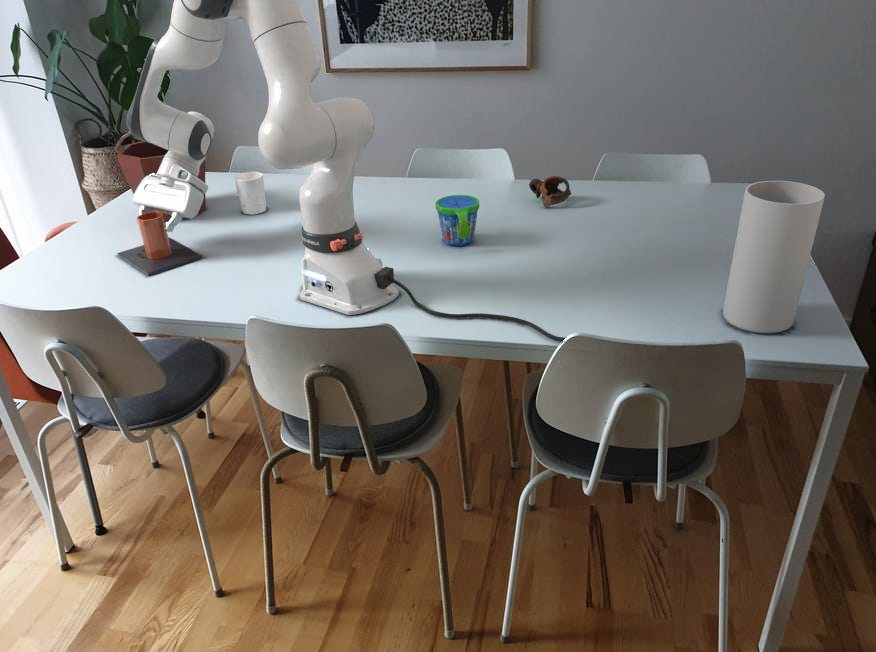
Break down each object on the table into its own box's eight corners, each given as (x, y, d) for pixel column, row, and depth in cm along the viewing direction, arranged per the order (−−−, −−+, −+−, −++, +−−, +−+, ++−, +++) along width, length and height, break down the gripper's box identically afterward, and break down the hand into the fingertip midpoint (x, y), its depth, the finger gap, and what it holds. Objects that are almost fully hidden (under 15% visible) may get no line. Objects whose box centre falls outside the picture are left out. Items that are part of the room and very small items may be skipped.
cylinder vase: (714, 304, 146) (736, 181, 133) (780, 304, 145) (809, 180, 132) (732, 335, 136) (757, 204, 123) (803, 335, 134) (836, 203, 121)
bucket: (230, 199, 218) (213, 113, 205) (199, 227, 199) (178, 133, 186) (154, 199, 222) (133, 114, 209) (116, 225, 204) (91, 134, 191)
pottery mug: (572, 198, 204) (577, 178, 197) (560, 223, 200) (564, 203, 193) (532, 184, 207) (536, 163, 200) (519, 208, 203) (522, 188, 196)
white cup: (262, 215, 204) (256, 180, 199) (236, 215, 206) (229, 180, 201) (272, 206, 211) (267, 171, 206) (247, 205, 212) (241, 171, 207)
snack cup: (435, 230, 188) (433, 192, 183) (476, 228, 188) (475, 189, 183) (438, 255, 174) (437, 214, 169) (483, 252, 175) (482, 211, 169)
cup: (176, 254, 181) (166, 215, 176) (153, 261, 178) (143, 222, 173) (165, 247, 185) (156, 209, 180) (142, 255, 182) (132, 216, 177)
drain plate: (202, 258, 180) (201, 255, 180) (148, 276, 173) (147, 273, 172) (169, 239, 192) (168, 237, 192) (117, 256, 185) (116, 253, 184)
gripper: (139, 165, 183) (117, 215, 181) (195, 175, 172) (173, 228, 171) (157, 178, 188) (136, 227, 186) (213, 188, 178) (191, 240, 176)
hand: (154, 227), depth 178 cm, fingers open, 8 cm apart
